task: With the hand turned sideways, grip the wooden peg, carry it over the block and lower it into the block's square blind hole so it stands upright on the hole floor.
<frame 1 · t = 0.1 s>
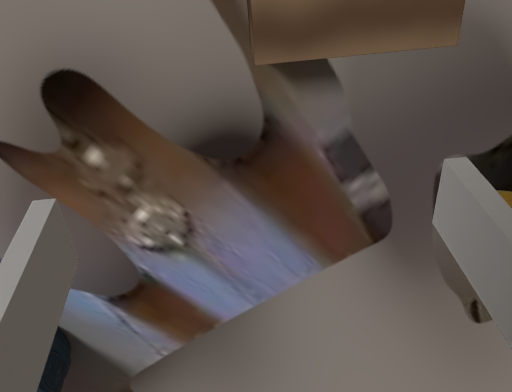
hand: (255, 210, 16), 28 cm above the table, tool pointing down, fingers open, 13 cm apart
canister: (20, 345, 60), on the table
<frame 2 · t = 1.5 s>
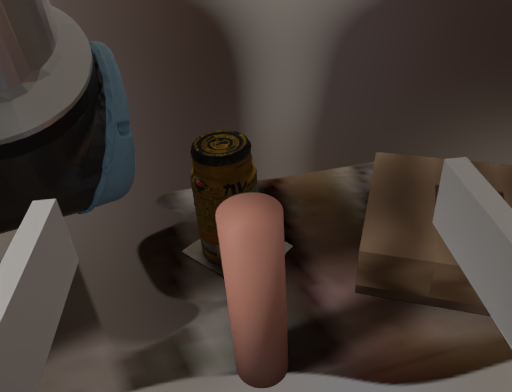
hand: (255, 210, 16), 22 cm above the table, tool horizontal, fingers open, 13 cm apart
condiment: (237, 251, 48), on the table
socket block: (459, 248, 46), on the table
peg: (262, 364, 37), on the table
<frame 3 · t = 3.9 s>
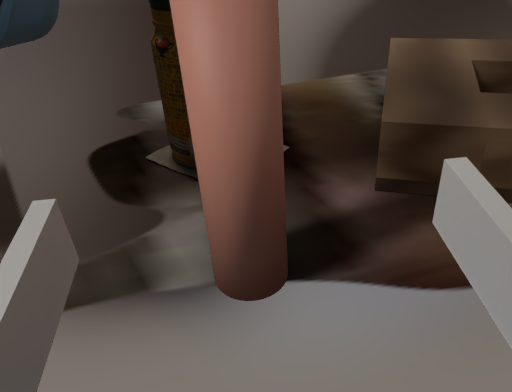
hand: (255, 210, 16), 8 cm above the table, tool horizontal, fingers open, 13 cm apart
condiment: (218, 156, 37), on the table
socket block: (505, 141, 35), on the table
peg: (251, 272, 26), on the table
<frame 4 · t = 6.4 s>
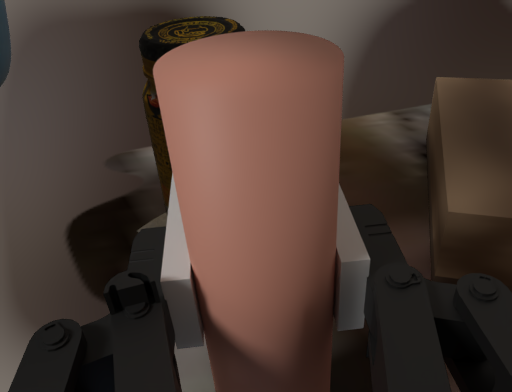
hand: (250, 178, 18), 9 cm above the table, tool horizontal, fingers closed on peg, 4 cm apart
condiment: (227, 229, 30), on the table
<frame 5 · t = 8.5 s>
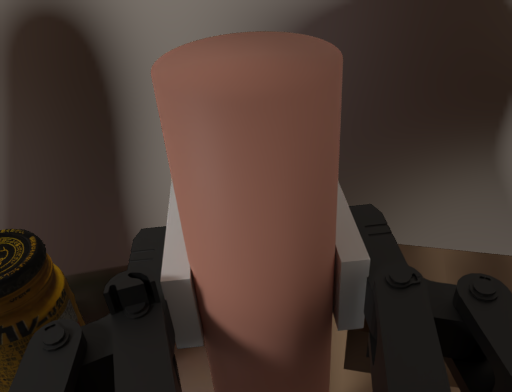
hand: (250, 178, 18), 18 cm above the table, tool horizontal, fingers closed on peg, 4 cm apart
socket block: (390, 383, 31), on the table
when the fingers open (11 cm above the table, at t = 11.1 s): peg drops 1 cm, resting on socket block.
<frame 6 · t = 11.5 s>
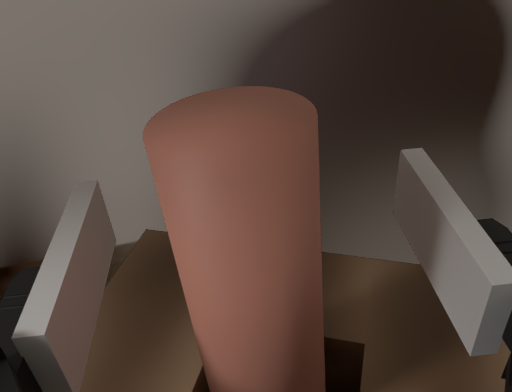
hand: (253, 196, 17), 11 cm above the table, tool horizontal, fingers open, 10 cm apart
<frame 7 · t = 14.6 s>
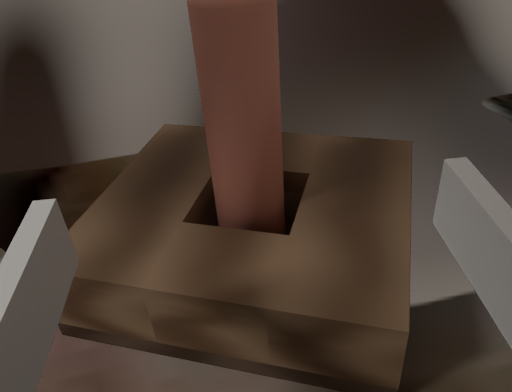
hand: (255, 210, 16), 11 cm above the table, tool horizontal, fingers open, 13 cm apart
socket block: (255, 259, 31), on the table
peg: (254, 248, 30), point 1 cm above the table, touching socket block
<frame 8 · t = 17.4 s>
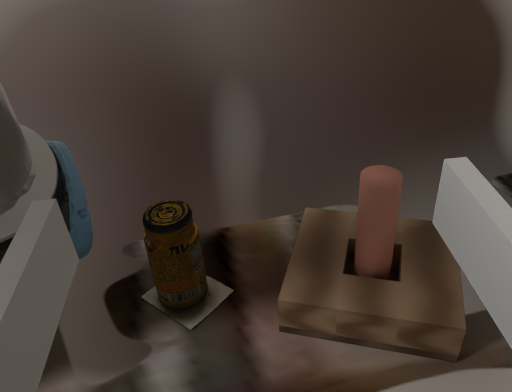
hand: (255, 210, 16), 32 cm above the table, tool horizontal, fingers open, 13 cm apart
condiment: (187, 296, 57), on the table
socket block: (369, 290, 56), on the table
peg: (370, 284, 55), point 1 cm above the table, touching socket block
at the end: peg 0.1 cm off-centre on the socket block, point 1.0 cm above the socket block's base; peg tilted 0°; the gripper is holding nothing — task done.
